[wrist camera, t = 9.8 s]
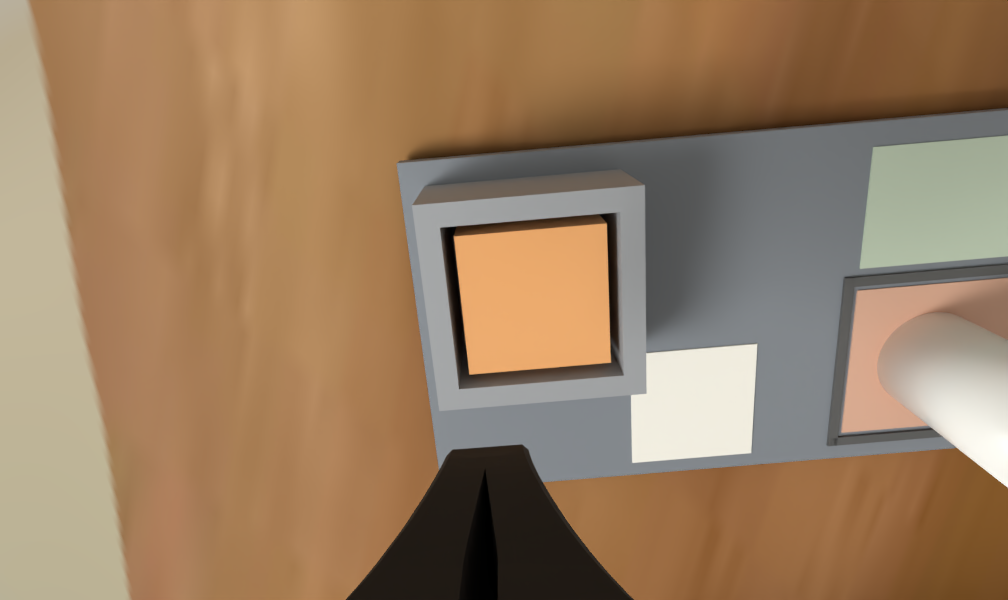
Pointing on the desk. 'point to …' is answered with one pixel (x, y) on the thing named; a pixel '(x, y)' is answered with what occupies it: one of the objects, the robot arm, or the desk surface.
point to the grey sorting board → (723, 288)
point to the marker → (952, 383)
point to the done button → (534, 293)
